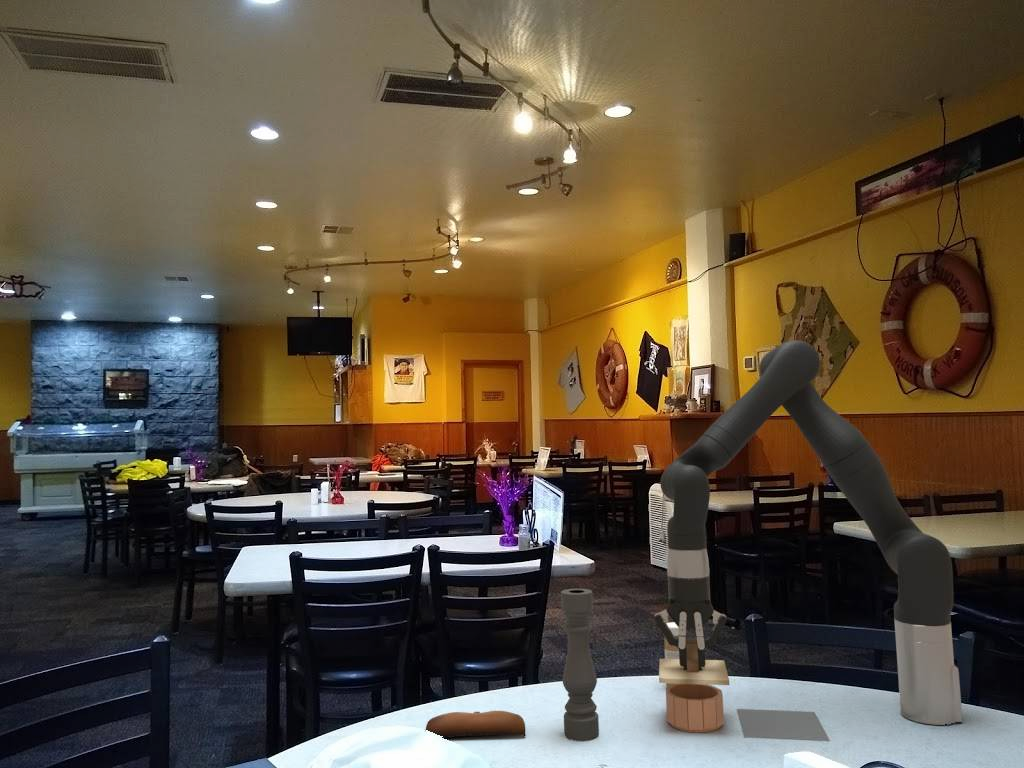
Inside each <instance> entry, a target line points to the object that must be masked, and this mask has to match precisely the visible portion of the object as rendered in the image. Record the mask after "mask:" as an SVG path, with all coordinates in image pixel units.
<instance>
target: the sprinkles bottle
mask: <svg viewBox="0 0 1024 768" xmlns="http://www.w3.org/2000/svg"><path fill="white" fill-rule="evenodd" d="M666 624H667V625H668V627H669V629H670V630H671V632H672V634H673V635H674V637H676V638H678V637H679V627H678V626H677V625H676V624H675V622H674V621H673V622H667V623H666ZM663 640H664V643H663V644H664V659H679V649H678V647H676V646H674V645H670V644H669V643H668V641H667V640H666V638H665V636H664V635H663ZM665 684H666V687H665V689H666V688H667V687H669V686H671V685H674V684H676V683H665Z"/></svg>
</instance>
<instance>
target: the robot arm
mask: <svg viewBox="0 0 1024 768" xmlns="http://www.w3.org/2000/svg"><path fill="white" fill-rule="evenodd" d="M820 368H821V358H820V355H819V352H818V351H817V350H816V348H815V347H814V346H813V345H811V343H808V342H806V341H805V340H804V341H803V340H797V339H794V340H789V341H786V342H783V343H781V344H779V345H778V346H776V347H775V348H773V349H771V350H770V351H768V352H767V353H766V354H764V356H763V357H762V358H761V361H760V364H759V375H760V377H759V379H758V380H757V381H756V382H755V383H754V385H752V386H751V388H749V389H748V390H747V392H746V393H744V394H743V395H742V396H741V397H740V398H739V399H738V400H736V402H735V403H733V404H732V405H731V406H730V407H729V408H728V409H726V410H725V412H723V413H722V414H721V415H720V416H719V417H718V418H717V419H716V420H715V421H714V422H713V423H712V424H711V425H710V426H709V427H708V429H707V430H705V432H704V433H703V434H702V435H701V436H700V438H698V440H697V441H696V442H695V443H694V444H693V445H692V446H690V447H689V448H687V449H686V450H685V451H684V452H683V453H681V454H680V455H679V456H678V457H676V458H675V459H674V460H673V461H672V462H670V464H669V465H668V466H667V467H666V468H665V470H664V471H663V473H662V475H661V477H660V483H659V485H660V489H661V491H662V494H664V496H665V497H666V498H668V499H669V500H671V501H673V511H672V512H673V514H672V517H670V518H669V519H668V520H667V521H668V522H667V525H666V531H667V558H666V567H667V568H666V572H667V590H668V592H667V593H668V603H667V604H666V609H663V610H662V611H660V612H656V613H655V614H654V621H655V623H656V625H658V627H659V629H660V631H661V633H662V634H663V637H664V636H665V638H666V640H667V641H668V643H669V644H670V645H674V646H676V647H678V649H679V662H680V666H684V670H687V655H686V638H687V637H686V636H687V633H686V632H687V631H688V630H694V631H695V633H696V634H695V636H696V638H697V646H698V668H699V670H702V667H705V660H706V649H708V648H709V647H714V646H715V645H716V643H717V640H718V639H719V636H720V634H721V633H722V631H723V629H724V627H725V625H726V623H727V621H728V620H727V616H726V614H725V613H720V612H718V611H717V610H715V609H714V606H713V604H712V602H711V587H710V584H711V583H710V572H711V571H710V566H709V565H710V563H709V556H708V550H707V549H708V548H707V532H706V531H707V530H706V529H707V528H706V522H707V518H708V512H709V505H710V498H711V497H710V496H711V487H710V482H709V478H708V477H710V475H711V474H712V473H715V472H716V471H720V470H722V469H724V468H725V467H726V466H727V465H728V464H729V463H730V462H731V461H732V460H733V459H734V458H735V457H736V456H737V455H738V453H739V452H740V451H741V450H742V449H743V448H744V447H745V446H746V444H747V443H748V442H749V441H750V440H751V439H752V437H753V436H754V435H755V434H757V432H758V431H759V429H760V428H762V426H763V425H764V424H765V422H766V421H767V420H768V419H769V418H771V416H772V415H773V414H774V413H775V412H776V411H777V410H778V409H779V408H780V407H782V408H784V410H785V411H786V412H787V413H788V415H789V416H790V417H791V418H792V420H793V421H794V423H795V424H796V426H797V427H798V428H799V430H800V431H801V434H802V435H803V436H804V438H805V440H806V441H807V442H808V445H809V446H810V447H811V449H812V450H813V451H814V453H815V455H816V456H817V458H818V459H819V460H820V463H821V464H822V465H823V468H824V469H825V470H826V472H827V473H828V475H829V476H830V478H831V479H832V481H833V482H834V483H835V484H836V486H837V487H838V488H839V490H840V491H841V492H842V493H841V494H843V495H844V497H845V498H846V499H847V501H848V502H849V503H850V505H851V506H852V507H853V508H854V510H855V511H856V512H857V513H858V514H859V516H860V517H861V519H862V520H863V521H864V523H865V524H866V526H867V528H868V529H869V531H870V533H871V535H872V537H873V538H874V540H875V542H876V544H877V546H878V548H879V550H880V551H881V554H882V555H883V558H884V559H885V561H886V563H887V565H888V566H889V567H890V569H891V570H892V571H893V572H894V573H895V574H896V575H897V587H898V591H897V592H898V594H897V595H898V596H897V600H896V601H895V602H894V604H893V618H894V631H895V633H894V634H895V646H896V661H897V663H896V664H897V674H898V675H897V676H898V679H897V680H898V690H899V691H898V693H899V706H900V714H901V715H902V716H903V717H904V718H906V719H909V720H911V721H914V722H917V723H921V724H925V725H926V724H927V725H935V726H936V725H937V726H944V725H945V724H947V725H952V724H951V723H953V724H956V723H955V722H962V723H963V713H962V701H961V700H962V697H961V684H960V672H959V668H958V667H957V666H956V664H955V662H954V661H955V659H954V658H955V657H954V646H953V635H952V621H951V619H952V616H951V615H952V611H953V608H954V575H953V572H954V571H953V564H952V559H951V558H952V557H951V554H950V552H949V550H948V548H947V546H946V545H945V544H944V543H943V542H942V541H941V540H940V539H938V538H936V537H935V536H932V535H929V534H926V533H924V532H923V531H922V530H921V529H920V528H919V527H918V526H917V525H916V523H915V522H914V521H913V519H912V518H911V517H910V516H909V515H908V513H907V512H906V511H905V510H904V508H903V507H902V505H901V504H900V501H899V500H898V498H897V496H896V494H895V491H894V489H893V485H892V483H891V480H890V477H889V475H888V472H887V470H886V468H885V466H884V463H883V462H882V460H881V459H880V456H878V454H877V453H876V452H875V450H874V449H873V447H872V445H871V444H870V443H869V441H868V440H867V438H866V437H865V436H864V434H862V432H861V431H860V430H859V429H858V428H856V426H854V425H853V424H852V423H851V422H849V421H848V420H847V419H846V418H844V417H843V416H841V414H839V413H837V412H836V411H835V410H834V409H833V408H832V407H831V406H829V405H828V404H827V402H826V401H825V400H824V399H823V398H822V396H821V395H820V393H819V392H818V390H817V389H816V388H815V386H814V384H813V381H814V380H815V379H816V377H817V375H818V374H819V372H820ZM668 616H669V617H670V618H671V620H672V621H673V622H675V624H676V625H677V626H678V627H679V637H678V638H676V637H674V635H673V634H672V632H671V630H670V629H669V627H668V625H667V624H666V623H669V618H668ZM711 617H713V618H712V623H713V624H714V625H713V627H712V628H711V631H710V632H709V634H708V635H707V637H706V638H704V631H703V630H704V627H705V626H706V624H707V623H708V621H710V619H711ZM945 726H946V725H945Z"/></svg>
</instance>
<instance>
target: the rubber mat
mask: <svg viewBox="0 0 1024 768" xmlns="http://www.w3.org/2000/svg"><path fill="white" fill-rule="evenodd" d="M736 712H737V715H738V718H739V719H738V720H739V723H740V727H741V731H742V733H743V738H747V739H748V738H751V739H766V740H767V739H772V740H791V741H793V740H794V741H811V742H812V741H813V742H814V741H815V742H831V740H830V738H829V736H828V734H827V733H826V731H825V729H824V727H823V725H822V723H821V721H820V719H819V718H818V716H817V714H816V712H815V711H803V710H802V711H800V710H799V711H798V710H777V709H776V710H774V709H771V710H770V709H754V708H753V709H752V708H751V709H748V708H736Z"/></svg>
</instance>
